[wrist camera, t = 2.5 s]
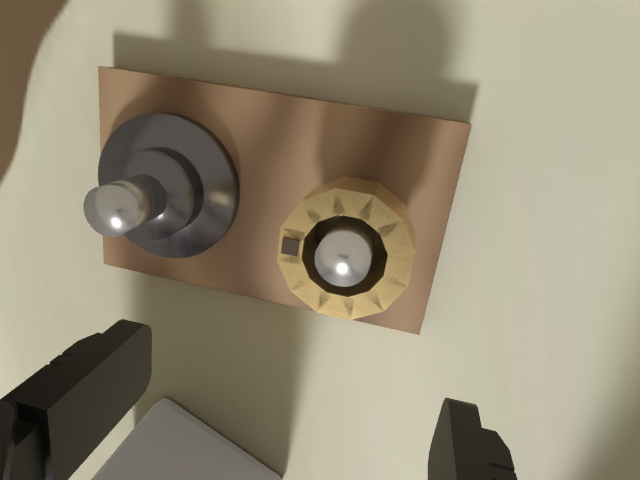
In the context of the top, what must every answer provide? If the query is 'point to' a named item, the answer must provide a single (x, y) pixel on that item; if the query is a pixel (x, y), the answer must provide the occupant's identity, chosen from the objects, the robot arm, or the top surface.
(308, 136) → the walnut board
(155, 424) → the soap bottle
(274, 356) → the top surface
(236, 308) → the top surface
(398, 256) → the brass ring
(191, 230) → the graphite hub
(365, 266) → the stepped silver cylinder
